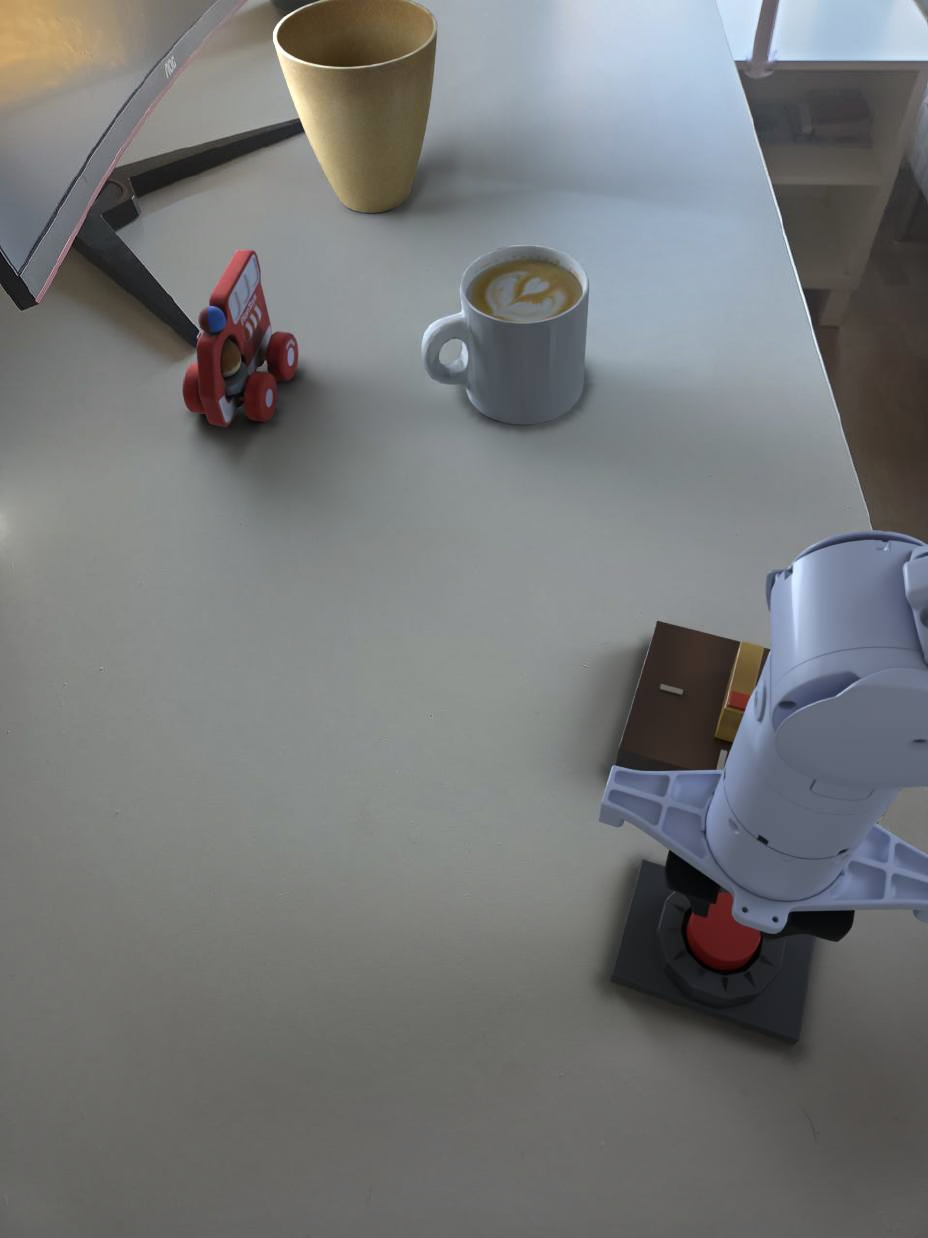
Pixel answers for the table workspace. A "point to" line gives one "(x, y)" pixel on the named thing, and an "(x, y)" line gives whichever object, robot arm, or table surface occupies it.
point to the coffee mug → (517, 334)
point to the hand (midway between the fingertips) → (735, 907)
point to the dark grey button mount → (671, 972)
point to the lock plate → (680, 702)
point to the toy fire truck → (238, 349)
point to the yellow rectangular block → (739, 689)
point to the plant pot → (362, 92)
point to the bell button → (721, 937)
